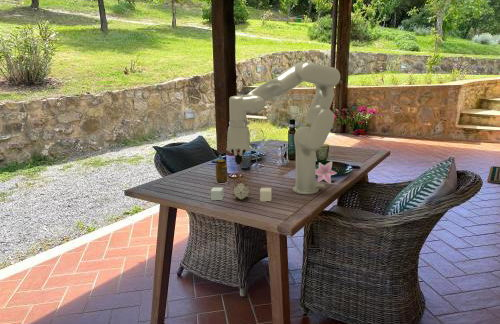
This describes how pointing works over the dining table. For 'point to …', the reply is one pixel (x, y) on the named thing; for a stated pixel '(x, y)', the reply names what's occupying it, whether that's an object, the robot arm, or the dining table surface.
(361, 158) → the dining table surface
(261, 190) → the off-white block
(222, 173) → the condiment
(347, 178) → the dining table surface
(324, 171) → the lily
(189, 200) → the dining table surface
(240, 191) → the game die
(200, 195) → the dining table surface
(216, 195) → the grey-green block
